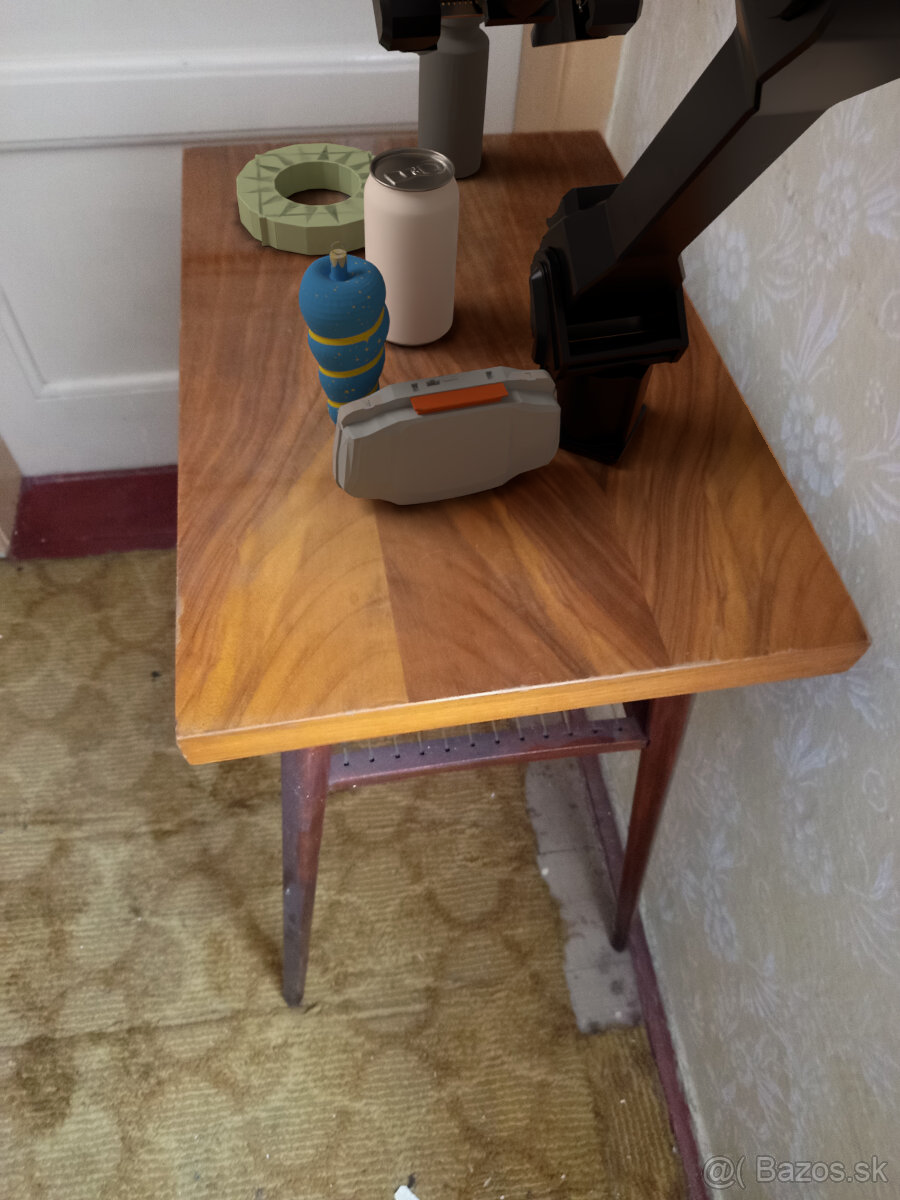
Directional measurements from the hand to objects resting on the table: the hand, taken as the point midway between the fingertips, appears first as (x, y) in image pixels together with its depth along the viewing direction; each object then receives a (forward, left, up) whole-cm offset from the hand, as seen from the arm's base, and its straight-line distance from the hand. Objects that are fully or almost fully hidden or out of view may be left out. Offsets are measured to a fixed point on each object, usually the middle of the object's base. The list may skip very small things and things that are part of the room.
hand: (477, 44), depth 71 cm
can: (-4, +18, -13) cm, 23 cm away
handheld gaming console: (-14, +32, -13) cm, 38 cm away
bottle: (+4, -5, -13) cm, 14 cm away
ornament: (-7, +32, -13) cm, 36 cm away
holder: (+10, +8, -12) cm, 18 cm away
